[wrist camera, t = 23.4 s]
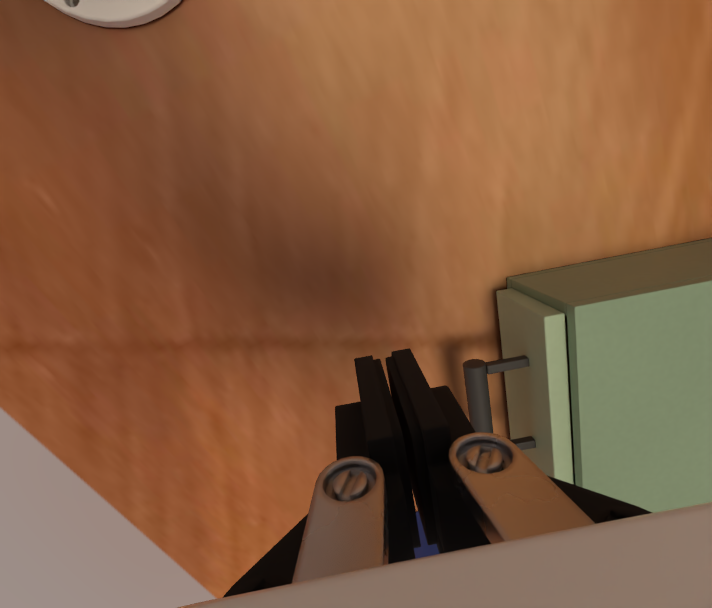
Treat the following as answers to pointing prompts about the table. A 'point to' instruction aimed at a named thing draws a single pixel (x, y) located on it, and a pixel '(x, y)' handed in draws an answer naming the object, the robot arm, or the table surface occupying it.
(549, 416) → the drawer
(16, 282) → the table surface
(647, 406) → the cabinet
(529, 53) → the table surface
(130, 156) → the table surface
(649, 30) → the table surface
